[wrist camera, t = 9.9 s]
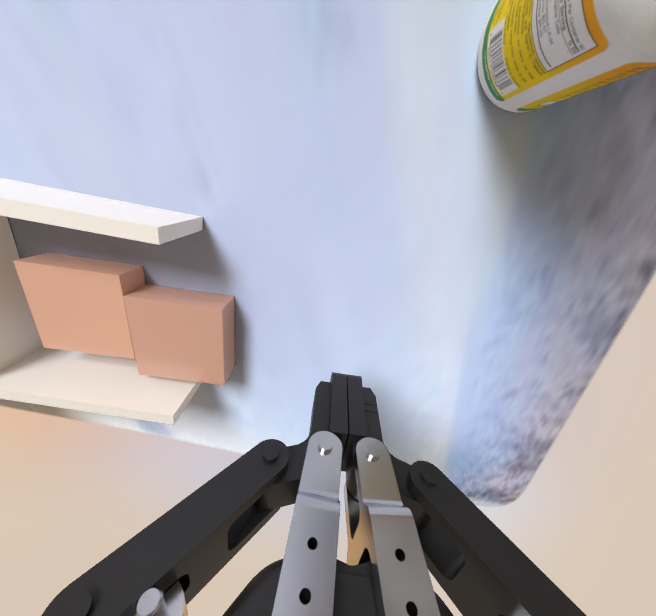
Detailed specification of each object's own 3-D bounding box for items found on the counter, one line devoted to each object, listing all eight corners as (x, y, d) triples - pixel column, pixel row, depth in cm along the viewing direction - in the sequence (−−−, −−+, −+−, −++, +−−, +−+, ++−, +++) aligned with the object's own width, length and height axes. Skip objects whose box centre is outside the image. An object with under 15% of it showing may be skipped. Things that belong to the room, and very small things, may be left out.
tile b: (149, 282, 18) (123, 296, 16) (235, 294, 19) (222, 309, 16) (159, 353, 21) (138, 374, 19) (236, 363, 21) (224, 385, 19)
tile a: (54, 251, 18) (12, 260, 15) (146, 264, 18) (118, 275, 16) (76, 329, 20) (43, 347, 18) (157, 339, 20) (134, 359, 18)
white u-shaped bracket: (-20, 173, 15) (-148, 169, 11) (202, 216, 16) (157, 227, 12) (38, 352, 21) (-35, 393, 17) (204, 378, 21) (173, 424, 17)
